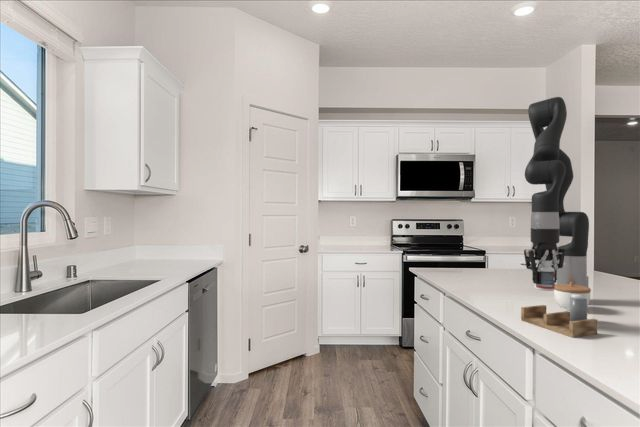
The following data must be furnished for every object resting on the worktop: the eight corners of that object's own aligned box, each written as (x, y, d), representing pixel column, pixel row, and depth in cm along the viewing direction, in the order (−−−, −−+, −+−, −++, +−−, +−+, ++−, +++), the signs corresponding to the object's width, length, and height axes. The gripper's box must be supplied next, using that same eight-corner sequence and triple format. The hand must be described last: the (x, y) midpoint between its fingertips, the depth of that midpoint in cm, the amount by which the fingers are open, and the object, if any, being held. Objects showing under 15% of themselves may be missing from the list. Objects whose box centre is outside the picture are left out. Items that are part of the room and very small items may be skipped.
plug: (576, 318, 120) (576, 293, 120) (590, 322, 116) (590, 296, 116) (566, 320, 118) (566, 294, 118) (579, 324, 114) (579, 297, 114)
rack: (543, 317, 121) (543, 304, 121) (597, 333, 105) (597, 319, 105) (521, 320, 118) (521, 307, 118) (572, 337, 102) (572, 322, 102)
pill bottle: (557, 291, 112) (557, 261, 112) (538, 290, 114) (538, 261, 113) (550, 288, 118) (550, 259, 118) (532, 287, 119) (532, 258, 119)
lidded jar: (584, 306, 134) (584, 280, 134) (595, 314, 124) (595, 285, 124) (549, 304, 138) (549, 278, 138) (557, 312, 128) (557, 284, 127)
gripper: (552, 226, 121) (551, 279, 121) (516, 226, 117) (515, 282, 117) (574, 227, 114) (574, 284, 114) (536, 228, 110) (536, 287, 110)
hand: (544, 282), depth 116 cm, fingers closed on pill bottle, 5 cm apart
